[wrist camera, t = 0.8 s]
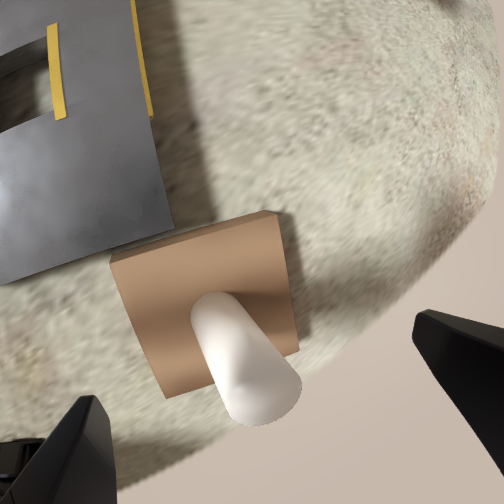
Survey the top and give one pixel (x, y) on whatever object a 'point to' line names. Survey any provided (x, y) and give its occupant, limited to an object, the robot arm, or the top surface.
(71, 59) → the plate
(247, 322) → the white peg
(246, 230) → the brown square slab
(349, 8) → the top surface
